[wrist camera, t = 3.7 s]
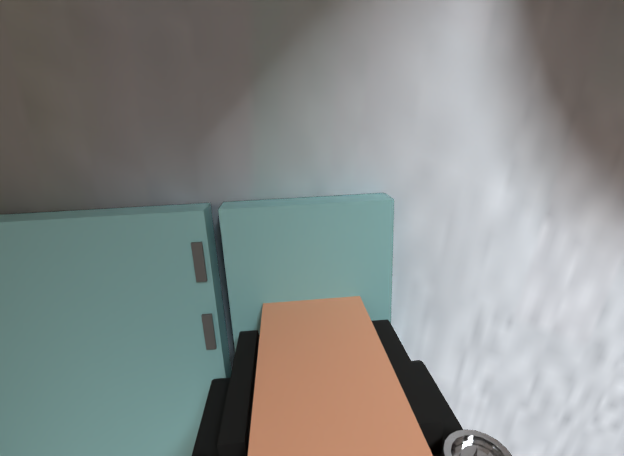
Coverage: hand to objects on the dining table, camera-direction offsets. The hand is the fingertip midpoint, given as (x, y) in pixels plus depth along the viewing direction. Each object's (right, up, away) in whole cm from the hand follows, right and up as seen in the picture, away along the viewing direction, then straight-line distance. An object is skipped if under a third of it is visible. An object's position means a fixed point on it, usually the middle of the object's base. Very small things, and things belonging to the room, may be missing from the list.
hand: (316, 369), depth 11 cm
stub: (0, +1, +2) cm, 2 cm away
